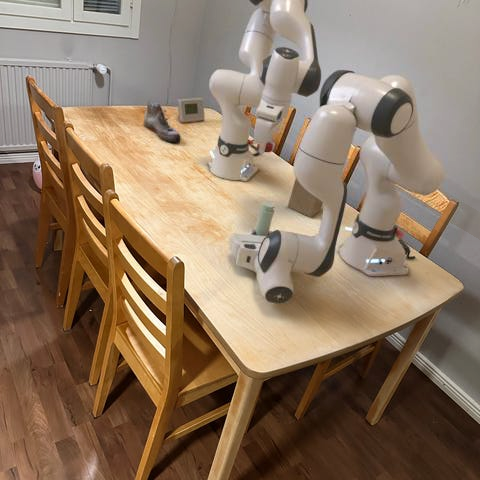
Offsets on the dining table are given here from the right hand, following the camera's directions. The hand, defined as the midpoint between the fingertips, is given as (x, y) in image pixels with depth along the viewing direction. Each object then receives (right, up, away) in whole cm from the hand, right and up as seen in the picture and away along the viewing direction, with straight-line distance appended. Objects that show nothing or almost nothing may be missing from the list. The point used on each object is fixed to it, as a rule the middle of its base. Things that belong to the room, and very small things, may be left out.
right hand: (260, 231), depth 134 cm
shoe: (-42, +46, +67) cm, 92 cm away
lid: (+2, +27, +4) cm, 28 cm away
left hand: (+1, +26, +5) cm, 26 cm away
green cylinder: (-1, -5, +2) cm, 6 cm away
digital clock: (-32, +58, +90) cm, 111 cm away
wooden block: (+18, +9, +32) cm, 38 cm away
